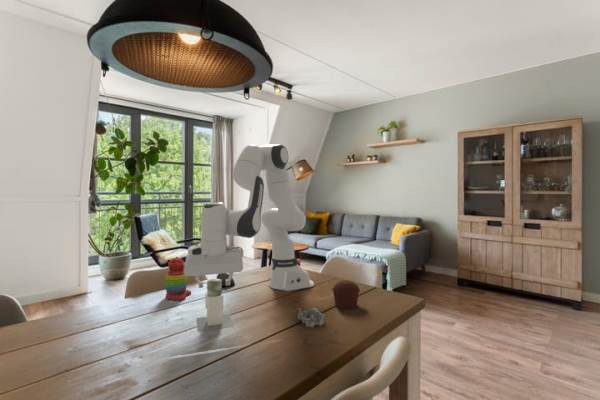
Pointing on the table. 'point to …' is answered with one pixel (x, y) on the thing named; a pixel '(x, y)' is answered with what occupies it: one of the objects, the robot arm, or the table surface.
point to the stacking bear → (176, 280)
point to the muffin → (346, 294)
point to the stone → (224, 277)
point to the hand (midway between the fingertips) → (214, 286)
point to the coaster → (204, 326)
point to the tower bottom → (214, 317)
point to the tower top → (214, 303)
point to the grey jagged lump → (311, 317)
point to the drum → (214, 287)
